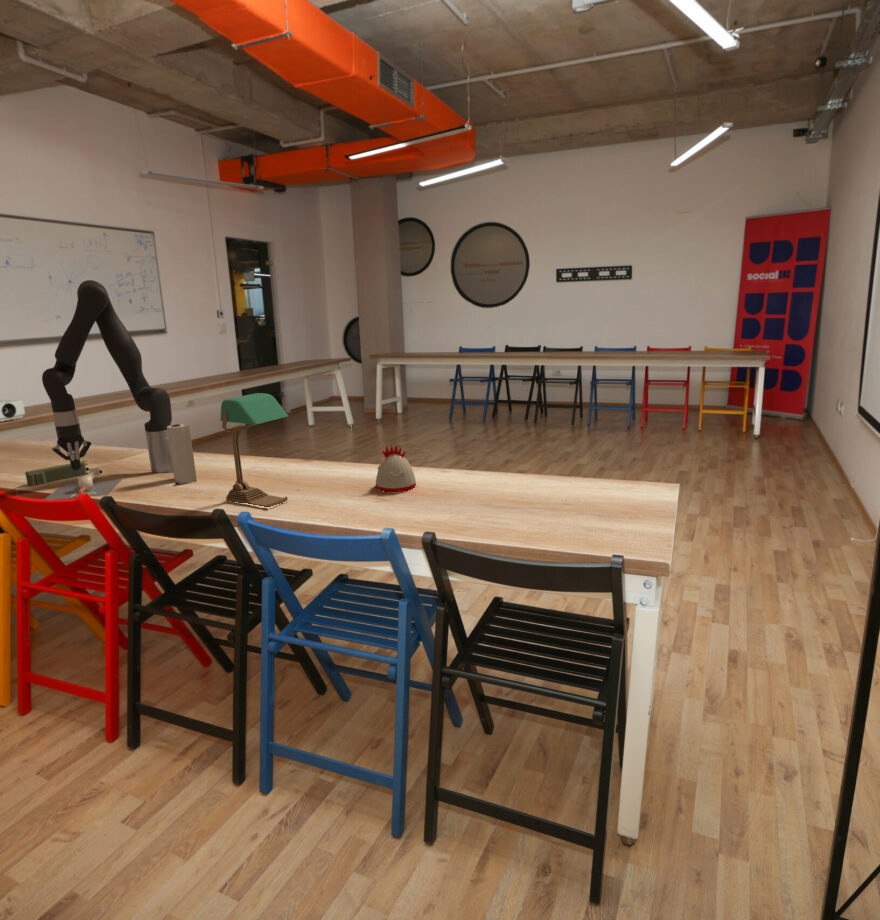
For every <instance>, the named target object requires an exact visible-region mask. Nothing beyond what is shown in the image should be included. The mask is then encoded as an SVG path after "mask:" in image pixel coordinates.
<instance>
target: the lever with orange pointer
mask: <svg viewBox="0 0 880 920" xmlns="http://www.w3.org/2000/svg"><path fill="white" fill-rule="evenodd" d="M99 470H100V468H99V467H96V468H95V467H94V468H93V467H92V468H89V470H88V471H89V472H87V473H88V474H87V475H83V476H78V477H76V478H77V479H76V480H77V483H78V484H79V494H81V493H82V492H83V491H86V490H91V489H93V488H94V487H93V482H94V481H93V479H94V478H96V476H100V475H101V473H100V472H99Z"/></svg>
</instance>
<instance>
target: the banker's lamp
mask: <svg viewBox="0 0 880 920" xmlns="http://www.w3.org/2000/svg"><path fill="white" fill-rule="evenodd" d="M288 417H289V415H288V413H287V412H286V410H284V408H283V406H282V405H281V404H280V403H279V402H278V400H277V399H276V398H275V397H274V396H273V395H271V394H269V393H264V392H260V393H259V392H257V393H251V394H246V395H242V396H241V395H240V396H236V397H231V398H226V399H224V400H223V401H222V402H221V406H220V422H221V423H222V424H221V427H222V429H223V430H225V431H226V432H229V433H230V432H231V433H232V436H231V437H232V439H231V440H232V441H231V442H232V449H233V450H232V451H233V458H234V468H235V474H236V481H235V482H234V484H233V486H232V488H231V489H230V490H229V491H228V492H227V495H226V496H225V501H226V502H227V501H231V502H230V503H232V502H238V503H248V504H253V505H259V506H264V507H271V506H274V505H277V504H280V503H283V502H285V501H287V500H288V496H285V497H280V496H275V495H271V494H269V493H266V492H264V490H262V489H261V488H258V487H252V486H250V485H249V483H248V482H247V481H245V480H244V477H243V469H242V462H241V461H242V460H241V454H240V452H241V451H240V445H239V443H240V442H239V438H240V437H239V436H240V434H241V433H242V432H243V431H245V430H247V429H250V428H252V427H253V426H256V425H261V424H263V423H268V422H271V421H275V420H279V419H284V418H288ZM228 423H235V424H244V425H243V426H242V427H240V428H238V429H236V431H235V430H233V429H230V428H227V425H228ZM288 501H289V500H288Z"/></svg>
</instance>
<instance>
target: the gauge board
mask: <svg viewBox="0 0 880 920" xmlns="http://www.w3.org/2000/svg"><path fill="white" fill-rule="evenodd" d="M121 481H123V478H118V479H117V478H116V479H107V480H97V481H96V480H95V481H93V487H94V488H93V489H91V490H86V491H83V492H82V493H88V494H89V495H90V496H91V497H100V496H101V497H103V496H108V495H109V494H110V493H111V492H112V491H113V490H114V489H115V488H116V487H117V486H118V484H119V483H120V482H121ZM77 495H79V484H78V482H72V483H63V484H61V486H59V487H58V488H56V490H54V491H52V493H50V494H49V495H48V496H47V497H45V498H44V499H43V500H48V501H58V500H67V499H68V500H69V499H76V498H75V497H76V496H77Z"/></svg>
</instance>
